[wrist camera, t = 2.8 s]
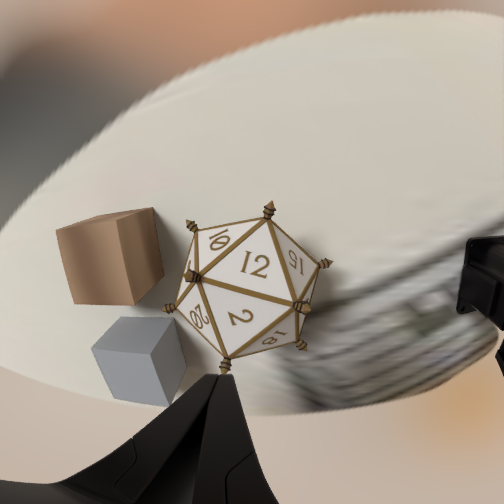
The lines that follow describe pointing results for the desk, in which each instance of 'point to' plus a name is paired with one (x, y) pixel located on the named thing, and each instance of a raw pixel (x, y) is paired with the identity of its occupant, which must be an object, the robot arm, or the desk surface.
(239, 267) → the game die
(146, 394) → the slate block
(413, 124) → the desk surface
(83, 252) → the walnut block
